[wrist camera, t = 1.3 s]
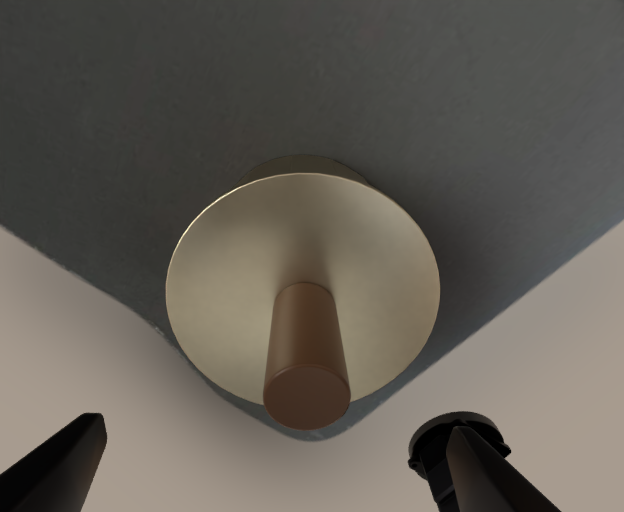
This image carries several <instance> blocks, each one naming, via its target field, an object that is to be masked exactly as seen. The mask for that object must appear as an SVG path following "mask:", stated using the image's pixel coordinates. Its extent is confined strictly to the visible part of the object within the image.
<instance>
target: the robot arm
mask: <svg viewBox="0 0 624 512" xmlns="http://www.w3.org/2000/svg"><path fill="white" fill-rule="evenodd" d="M106 443H107V433H106V428H105V423H104V418H103V415H102V414H100V413H84V414H82V415H80V416H79V417H77V418H76V419H75V420H73V421H72V422H71V423H69V424H68V425H67V426H65V427H64V428H62V429H61V430H60V431H59V432H57V433H56V434H54V435H53V436H52V437H50V438H49V439H48V440H46V441H45V442H44V443H42V444H41V445H40V446H38V447H37V448H35V449H34V450H33V451H31V452H30V453H29V454H27V455H26V456H25V457H23V458H22V459H21V460H19V461H18V462H17V463H15V464H14V465H12V466H11V467H10V468H8V469H7V470H6V471H4V472H3V473H2V474H0V512H80V511H81V509H82V506H83V504H84V502H85V499H86V497H87V494H88V491H89V489H90V486H91V483H92V481H93V478H94V476H95V473H96V470H97V468H98V465H99V462H100V460H101V457H102V454H103V452H104V449H105V447H106ZM510 454H511V449H510V447H509V446H508V445H507V444H505V443H503V442H502V441H500V440H498V439H496V438H495V437H493V436H491V435H489V434H488V433H486V432H484V431H482V430H480V429H479V428H477V427H475V426H473V425H472V424H470V423H468V422H466V421H465V420H463V419H460V418H458V419H455V420H453V421H452V422H451V423H450V424H449V425H448V426H446V427H445V428H444V429H443V430H442V431H441V432H439V433H438V434H437V435H436V436H435V437H434V438H433V439H431V440H430V441H429V442H428V443H427V444H426V445H425V446H423V447H422V448H421V449H420V450H419V451H418V452H416V453H415V454H414V455H413V456H412V457H411V458H410V459H409V460H408V465H409V468H410V469H412V470H414V471H416V472H418V473H420V474H422V475H424V476H426V477H427V480H428V483H429V486H430V489H431V492H432V495H433V498H434V501H435V502H436V503H437V506H438V508H439V512H561V511H560V510H559V509H558V508H557V507H556V506H555V505H554V504H553V503H551V502H550V501H549V500H548V499H547V498H546V497H545V496H544V495H543V494H542V493H541V492H540V491H539V490H537V489H536V488H535V487H534V486H533V485H532V484H531V483H530V482H529V481H528V480H527V479H526V478H525V477H524V476H522V475H521V474H520V473H519V472H518V471H517V470H516V469H515V468H514V467H513V466H512V465H511V464H510V463H509V462H508V461H506V460H505V459H504V458H506V457H507V456H508V455H510Z"/></svg>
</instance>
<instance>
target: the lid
mask: <svg viewBox="0 0 624 512" xmlns="http://www.w3.org/2000/svg"><path fill="white" fill-rule="evenodd" d="M439 301H440V280H439V271H438V267H437V263H436V260H435V256H434V253H433V251H432V249H431V246H430V244H429V242H428V240H427V238H426V237H425V235H424V234H423V232H422V230H421V229H420V227H419V226H418V225H417V223H416V222H415V221H414V220H413V219H412V218H411V216H410V215H409V214H408V213H407V212H406V211H405V210H404V209H403V208H402V207H401V206H400V205H399V204H397V203H396V202H395V201H394V200H393V199H392V198H390V197H389V196H387V195H386V194H384V193H383V192H381V191H379V190H378V189H376V188H375V187H373V186H371V185H368V184H366V183H364V182H362V181H359V180H357V179H354V178H351V177H347V176H344V175H341V174H337V173H331V172H324V171H318V170H293V171H284V172H276V173H272V174H268V175H264V176H260V177H257V178H254V179H252V180H249V181H246V182H244V183H241V184H239V185H237V186H235V187H234V188H232V189H230V190H228V191H227V192H225V193H223V194H222V195H220V196H219V197H218V198H216V199H215V200H214V201H212V202H211V203H210V204H209V205H207V206H206V207H205V208H204V209H203V210H202V211H201V212H200V214H199V215H198V216H197V217H196V218H195V219H194V220H193V221H192V222H191V224H190V225H189V227H188V228H187V229H186V231H185V232H184V234H183V235H182V236H181V238H180V240H179V242H178V244H177V246H176V248H175V250H174V252H173V255H172V258H171V261H170V264H169V268H168V273H167V280H166V304H167V311H168V317H169V320H170V323H171V326H172V329H173V332H174V334H175V336H176V338H177V340H178V342H179V344H180V346H181V347H182V349H183V350H184V352H185V353H186V355H187V356H188V358H189V359H190V360H191V361H192V362H193V364H194V365H195V366H196V367H197V368H198V369H199V370H200V371H201V372H202V373H203V374H204V375H206V376H207V377H208V378H209V379H210V380H212V381H213V382H214V383H216V384H217V385H219V386H220V387H222V388H223V389H225V390H227V391H229V392H231V393H232V394H234V395H236V396H239V397H241V398H244V399H246V400H248V401H251V402H255V403H258V404H261V405H264V406H265V409H266V411H267V413H268V414H269V415H270V417H271V418H272V419H273V420H275V421H276V422H277V423H279V424H281V425H282V426H285V427H287V428H290V429H294V430H302V431H310V430H317V429H321V428H324V427H327V426H329V425H331V424H333V423H335V422H336V421H337V420H339V419H340V418H341V417H342V416H343V415H344V414H345V412H346V410H347V409H348V406H349V404H350V402H352V401H355V400H357V399H360V398H362V397H364V396H367V395H369V394H371V393H373V392H375V391H376V390H378V389H380V388H382V387H383V386H385V385H386V384H388V383H389V382H390V381H392V380H393V379H395V378H396V377H397V376H398V375H399V374H400V373H402V372H403V371H404V370H405V369H406V368H407V367H408V366H409V365H410V364H411V362H412V361H413V360H414V359H415V358H416V357H417V355H418V354H419V352H420V351H421V349H422V348H423V347H424V345H425V343H426V341H427V339H428V337H429V335H430V334H431V331H432V329H433V326H434V323H435V320H436V317H437V312H438V307H439Z"/></svg>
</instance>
